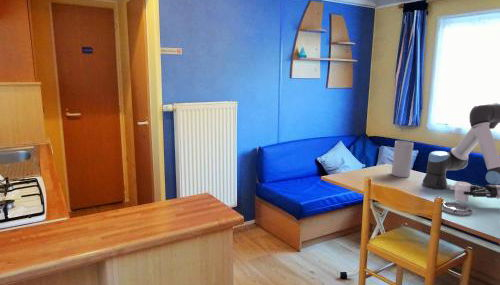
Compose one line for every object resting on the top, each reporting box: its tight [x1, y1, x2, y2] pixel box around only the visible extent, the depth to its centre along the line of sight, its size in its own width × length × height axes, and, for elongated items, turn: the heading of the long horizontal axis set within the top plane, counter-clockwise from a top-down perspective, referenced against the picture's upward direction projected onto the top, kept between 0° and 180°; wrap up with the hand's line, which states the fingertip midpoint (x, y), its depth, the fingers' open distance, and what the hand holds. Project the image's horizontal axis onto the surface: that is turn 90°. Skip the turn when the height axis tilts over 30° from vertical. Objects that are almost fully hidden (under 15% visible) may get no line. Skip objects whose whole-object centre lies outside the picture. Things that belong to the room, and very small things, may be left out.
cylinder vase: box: [391, 140, 414, 178], centre depth 265 cm, size 12×12×25 cm
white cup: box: [454, 181, 472, 203], centre depth 210 cm, size 8×8×10 cm
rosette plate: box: [442, 200, 474, 217], centre depth 201 cm, size 16×16×3 cm
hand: (453, 189), depth 210 cm, fingers closed on white cup, 8 cm apart
